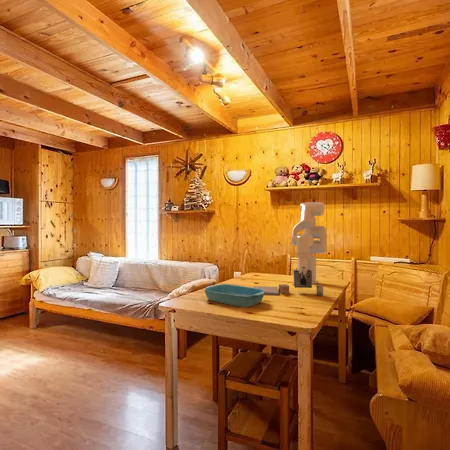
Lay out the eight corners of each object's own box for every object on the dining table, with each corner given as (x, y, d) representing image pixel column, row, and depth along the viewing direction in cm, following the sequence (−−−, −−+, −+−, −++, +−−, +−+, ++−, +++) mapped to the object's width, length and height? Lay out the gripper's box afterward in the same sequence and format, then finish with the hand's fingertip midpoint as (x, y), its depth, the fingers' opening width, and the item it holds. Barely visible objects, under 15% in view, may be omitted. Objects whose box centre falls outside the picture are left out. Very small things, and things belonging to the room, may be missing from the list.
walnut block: (278, 292, 200) (278, 284, 200) (286, 292, 201) (286, 284, 201) (281, 294, 195) (281, 286, 195) (289, 293, 196) (289, 285, 196)
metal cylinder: (315, 294, 194) (316, 285, 194) (322, 294, 194) (322, 285, 194) (317, 296, 190) (317, 286, 190) (323, 296, 190) (324, 286, 190)
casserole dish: (196, 300, 179) (196, 287, 179) (220, 293, 197) (220, 282, 197) (251, 311, 157) (251, 297, 157) (272, 302, 175) (272, 290, 175)
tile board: (253, 288, 212) (253, 286, 212) (277, 289, 210) (277, 286, 210) (252, 294, 194) (252, 291, 194) (278, 295, 192) (278, 292, 192)
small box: (310, 285, 201) (310, 269, 200) (312, 288, 194) (312, 271, 194) (293, 285, 202) (293, 269, 201) (294, 287, 195) (294, 271, 195)
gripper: (295, 253, 206) (295, 280, 207) (298, 257, 189) (298, 286, 190) (306, 253, 205) (306, 280, 206) (311, 257, 188) (310, 286, 189)
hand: (302, 283), depth 198 cm, fingers closed on small box, 6 cm apart
